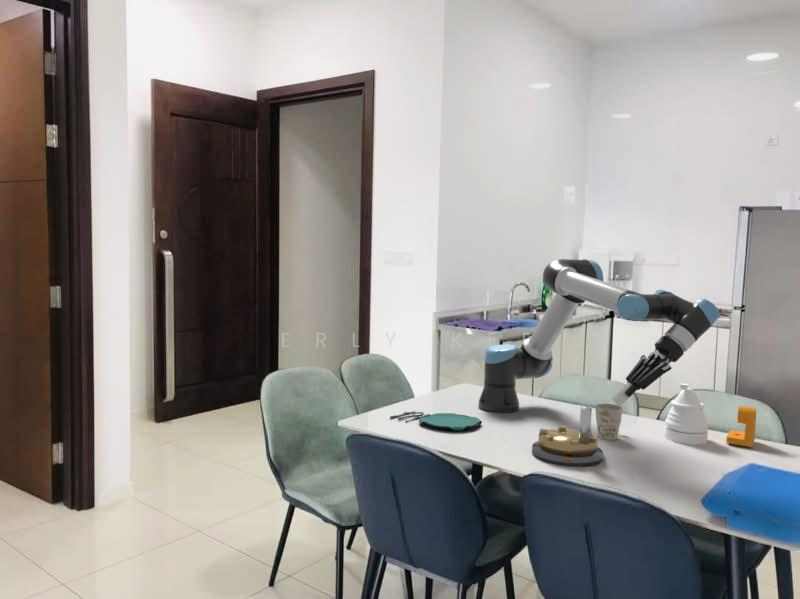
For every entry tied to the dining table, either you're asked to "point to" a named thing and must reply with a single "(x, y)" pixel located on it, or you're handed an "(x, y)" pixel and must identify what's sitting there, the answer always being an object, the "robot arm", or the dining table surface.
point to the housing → (567, 457)
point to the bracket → (745, 438)
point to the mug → (608, 420)
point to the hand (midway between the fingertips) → (616, 402)
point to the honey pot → (686, 419)
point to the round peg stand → (570, 438)
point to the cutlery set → (443, 420)
